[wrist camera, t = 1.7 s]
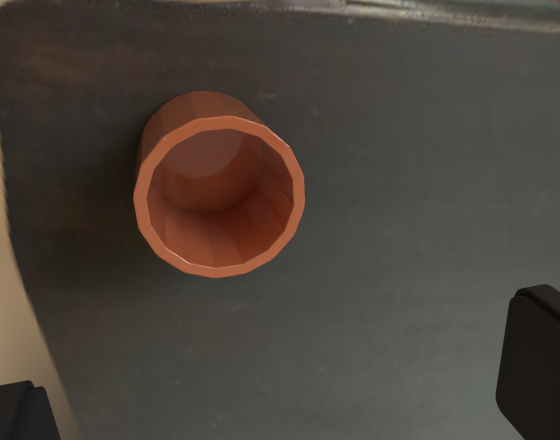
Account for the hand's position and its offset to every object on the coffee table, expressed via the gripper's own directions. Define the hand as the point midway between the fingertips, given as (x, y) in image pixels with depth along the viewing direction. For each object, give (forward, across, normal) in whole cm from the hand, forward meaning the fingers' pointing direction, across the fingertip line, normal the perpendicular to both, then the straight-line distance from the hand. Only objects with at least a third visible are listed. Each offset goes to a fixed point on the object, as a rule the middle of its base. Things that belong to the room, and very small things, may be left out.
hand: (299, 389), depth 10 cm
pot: (+18, 0, 0) cm, 18 cm away
